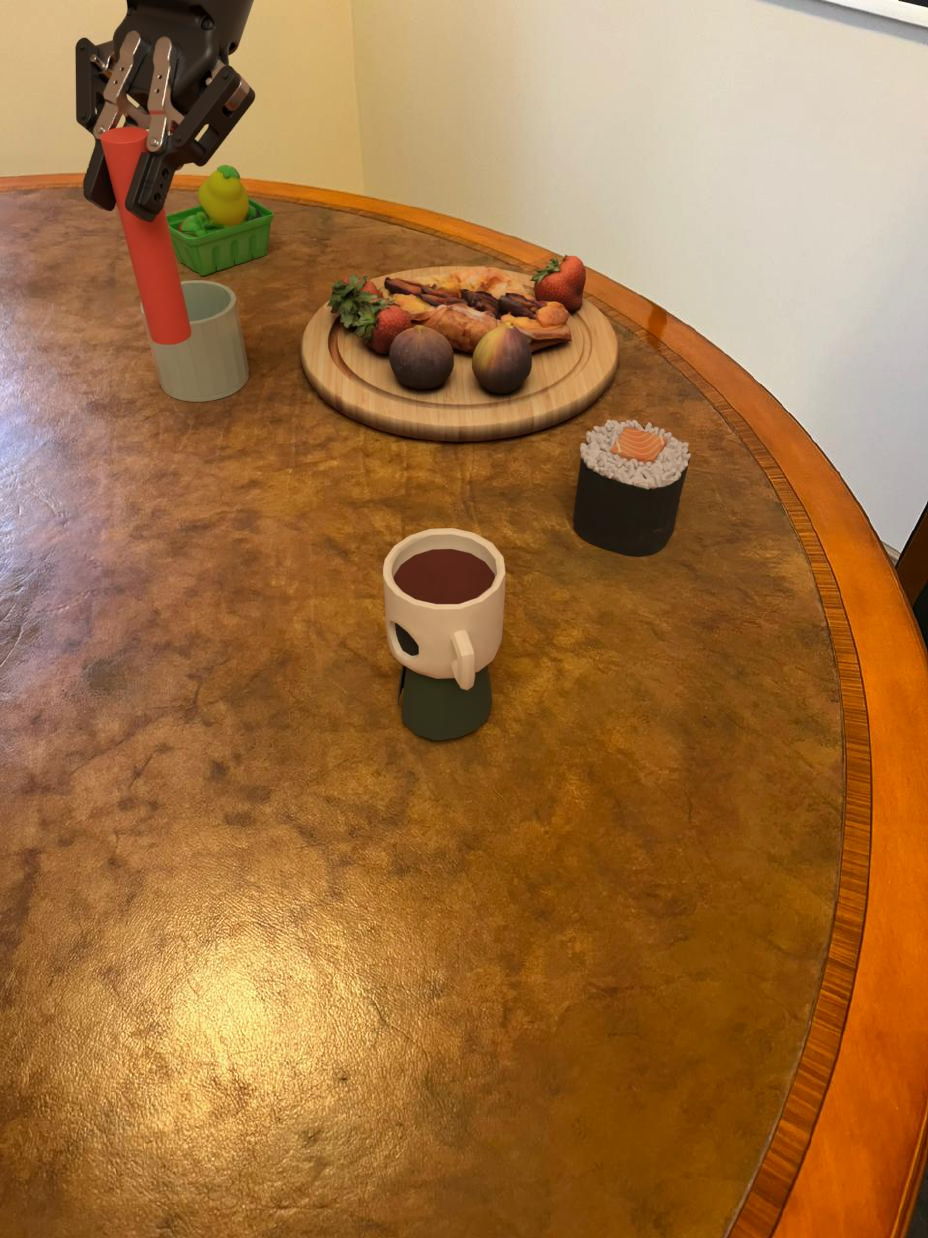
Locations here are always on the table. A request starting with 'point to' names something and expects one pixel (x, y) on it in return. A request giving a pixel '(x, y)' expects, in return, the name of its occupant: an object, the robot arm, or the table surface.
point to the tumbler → (204, 347)
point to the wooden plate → (461, 350)
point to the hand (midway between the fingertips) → (118, 209)
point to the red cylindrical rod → (147, 243)
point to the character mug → (444, 627)
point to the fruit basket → (220, 225)
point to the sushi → (629, 487)
